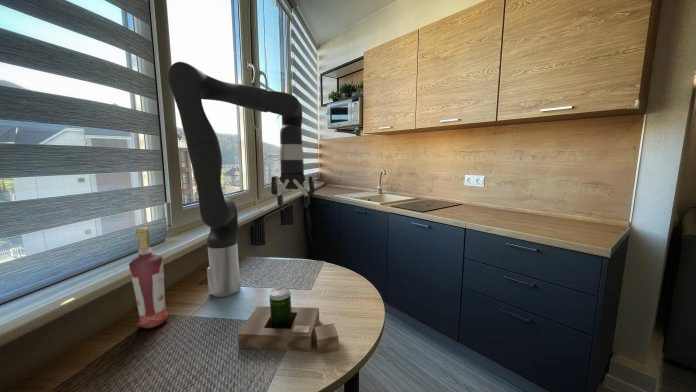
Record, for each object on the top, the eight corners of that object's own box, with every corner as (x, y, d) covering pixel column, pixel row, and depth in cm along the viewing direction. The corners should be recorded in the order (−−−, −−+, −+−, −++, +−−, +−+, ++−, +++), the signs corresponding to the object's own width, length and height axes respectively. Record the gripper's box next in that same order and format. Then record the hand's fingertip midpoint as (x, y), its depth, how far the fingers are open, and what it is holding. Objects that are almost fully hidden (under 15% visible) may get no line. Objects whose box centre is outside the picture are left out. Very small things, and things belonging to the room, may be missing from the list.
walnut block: (318, 355, 62) (317, 339, 61) (315, 341, 66) (314, 326, 66) (338, 350, 63) (338, 335, 62) (333, 337, 68) (333, 323, 67)
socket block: (238, 348, 64) (237, 333, 63) (258, 318, 76) (257, 305, 75) (310, 351, 63) (310, 335, 62) (319, 320, 74) (318, 307, 74)
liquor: (167, 326, 72) (156, 229, 68) (134, 335, 69) (120, 233, 65) (171, 313, 79) (160, 223, 75) (141, 320, 75) (128, 227, 71)
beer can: (294, 336, 68) (292, 293, 66) (273, 342, 66) (271, 298, 64) (289, 324, 73) (287, 284, 71) (269, 330, 71) (267, 289, 69)
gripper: (266, 159, 83) (269, 208, 85) (310, 158, 82) (312, 209, 84) (274, 158, 90) (276, 204, 92) (315, 158, 89) (316, 204, 91)
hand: (293, 206), depth 88 cm, fingers open, 8 cm apart
